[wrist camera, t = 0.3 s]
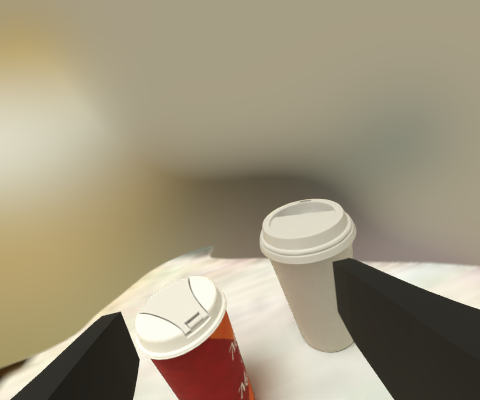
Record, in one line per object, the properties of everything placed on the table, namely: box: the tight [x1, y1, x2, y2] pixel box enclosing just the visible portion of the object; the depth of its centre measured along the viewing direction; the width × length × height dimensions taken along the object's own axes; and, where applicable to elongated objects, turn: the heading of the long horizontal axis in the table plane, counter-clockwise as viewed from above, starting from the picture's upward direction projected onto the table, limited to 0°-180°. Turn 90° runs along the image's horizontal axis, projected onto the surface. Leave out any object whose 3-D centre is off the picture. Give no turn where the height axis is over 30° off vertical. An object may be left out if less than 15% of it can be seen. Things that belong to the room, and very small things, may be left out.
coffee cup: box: [260, 199, 356, 352], centre depth 29 cm, size 10×10×15 cm
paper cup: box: [135, 276, 255, 400], centre depth 24 cm, size 8×8×14 cm
